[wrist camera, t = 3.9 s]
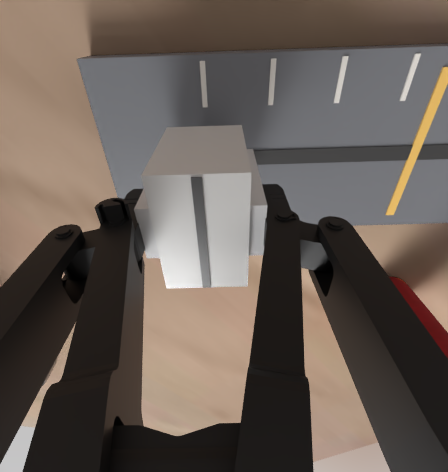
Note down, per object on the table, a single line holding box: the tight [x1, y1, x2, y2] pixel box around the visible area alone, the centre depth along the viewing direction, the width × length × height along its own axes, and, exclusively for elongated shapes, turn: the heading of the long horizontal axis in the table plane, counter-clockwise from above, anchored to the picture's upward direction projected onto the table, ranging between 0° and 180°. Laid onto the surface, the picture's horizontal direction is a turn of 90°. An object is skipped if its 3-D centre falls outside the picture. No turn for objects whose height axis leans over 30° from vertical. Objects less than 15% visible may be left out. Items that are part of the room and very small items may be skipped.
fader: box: [141, 125, 251, 288], centre depth 15 cm, size 4×6×9 cm, turn 2°
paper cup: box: [389, 277, 448, 358], centre depth 25 cm, size 8×8×14 cm
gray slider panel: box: [77, 43, 448, 226], centre depth 20 cm, size 30×12×2 cm, turn 92°
